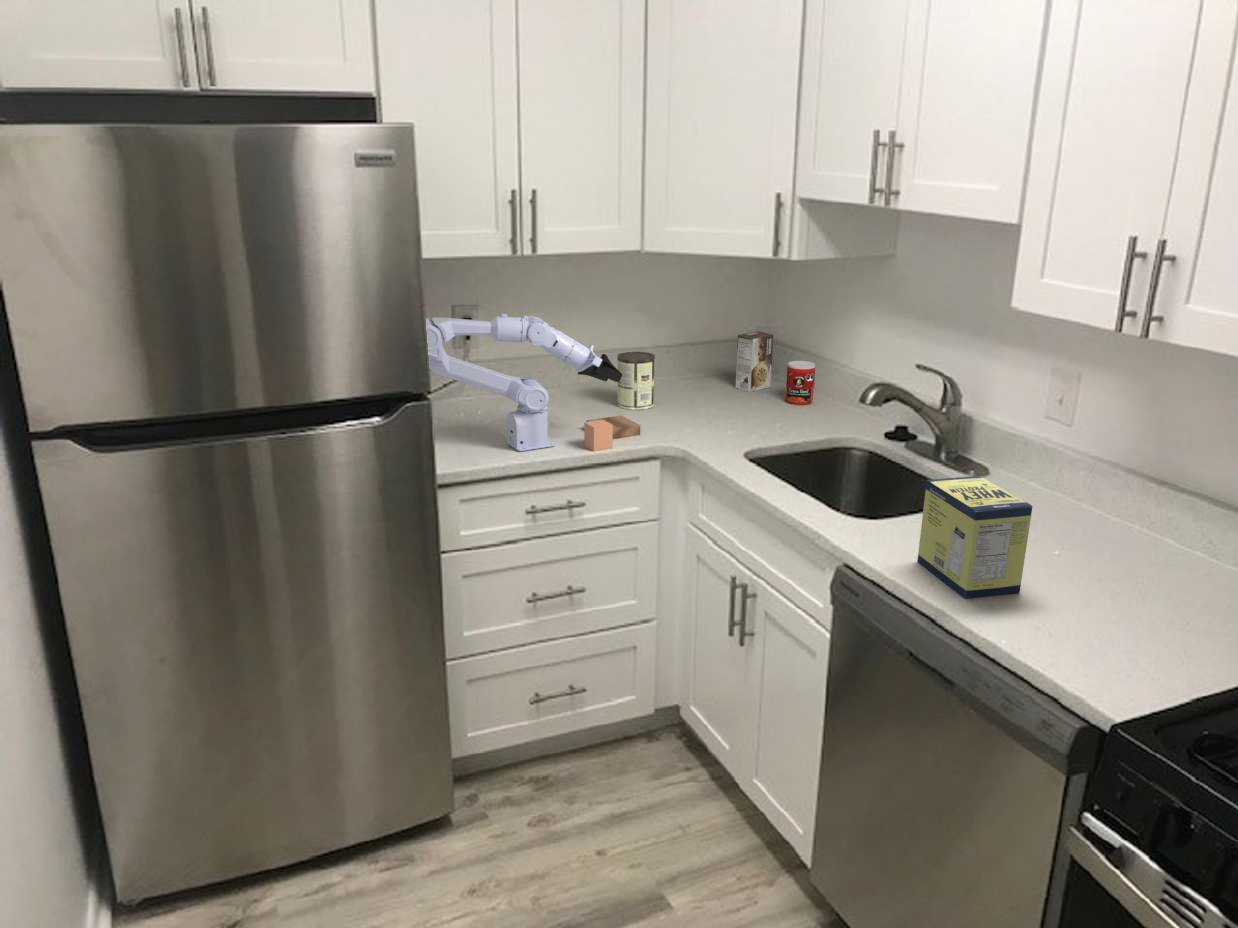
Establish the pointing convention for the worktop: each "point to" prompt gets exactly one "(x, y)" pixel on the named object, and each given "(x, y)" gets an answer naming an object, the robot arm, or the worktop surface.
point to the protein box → (974, 536)
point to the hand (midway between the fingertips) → (614, 378)
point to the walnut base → (621, 426)
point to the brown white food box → (754, 361)
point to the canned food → (800, 382)
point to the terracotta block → (598, 435)
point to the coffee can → (636, 380)
